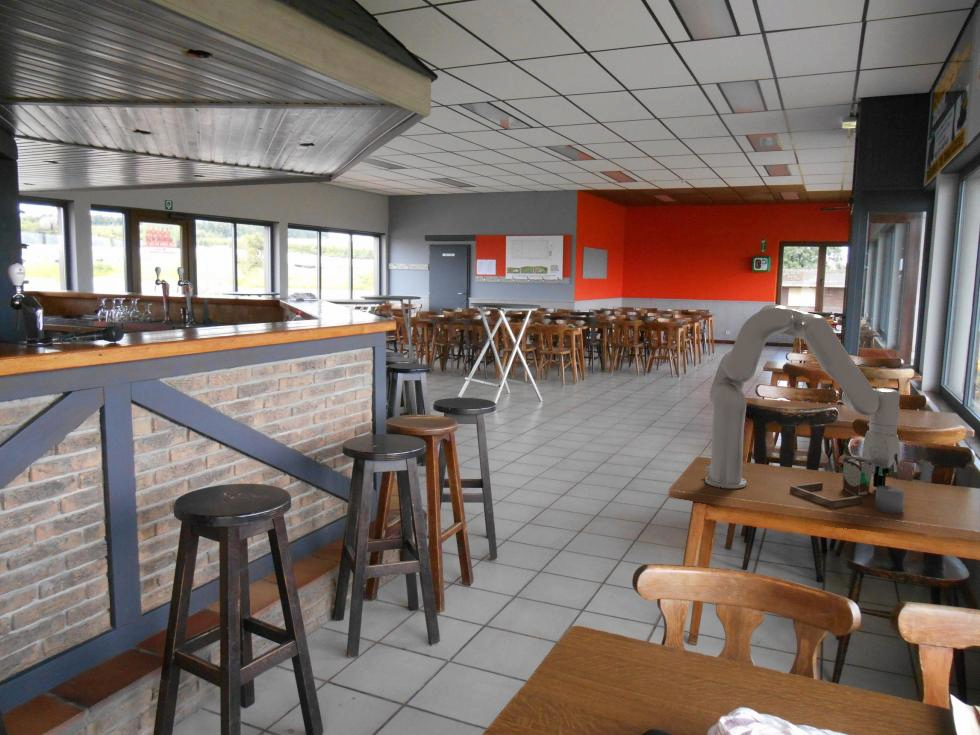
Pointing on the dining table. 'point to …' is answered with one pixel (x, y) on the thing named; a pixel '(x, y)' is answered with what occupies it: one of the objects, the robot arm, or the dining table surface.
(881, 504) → the grey glossy rounded part
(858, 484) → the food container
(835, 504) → the frame
